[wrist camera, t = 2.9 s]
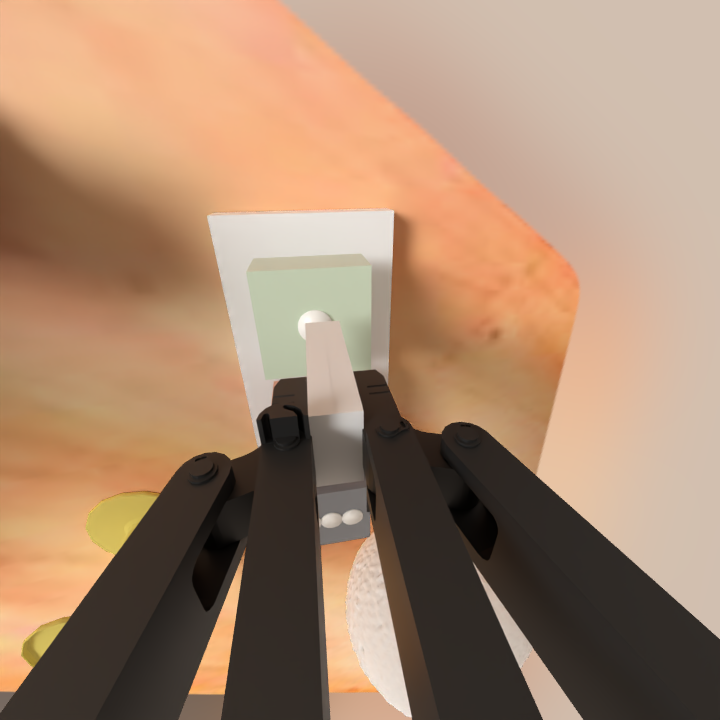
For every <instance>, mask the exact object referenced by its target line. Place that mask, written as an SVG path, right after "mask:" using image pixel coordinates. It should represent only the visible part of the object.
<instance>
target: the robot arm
mask: <svg viewBox="0 0 720 720" xmlns="http://www.w3.org/2000/svg"><path fill="white" fill-rule="evenodd" d="M305 332H306V365H307V377H297V378H286V379H280V380H279V382H278V383H277V384H276V385H275V387H274V390H273V398H272V405H271V406H269V407H267V408H265V409H264V410H263V411H262V412H261V413H260V414H259V415H258V417H257V419H256V422H257V427H258V432H259V437H260V441H261V446H260V447H259V448H257V449H256V450H254V451H253V452H251V453H249V454H247V455H245V456H242V457H239V458H236V459H234V460H231V461H230V459H229V458H228V457H227V456H226V455H225V454H221V453H217V452H212V453H204V454H201V455H198V456H195V457H193V458H192V459H190V460H188V461H187V462H185V463H184V464H183V465H182V466H181V467H180V468H179V469H178V470H177V471H176V473H175V474H174V475H173V477H172V478H171V480H170V481H169V482H168V484H167V485H166V486H165V488H164V489H163V491H162V492H161V493H160V495H159V496H158V497H157V499H156V500H155V502H154V503H153V504H152V506H151V507H150V508H149V510H148V511H147V513H146V514H145V515H144V517H143V518H142V519H141V521H140V522H139V523H138V525H137V526H136V528H135V529H134V530H133V532H132V533H131V534H130V536H129V537H128V539H127V540H126V541H125V543H124V544H123V545H122V547H121V548H120V550H119V551H118V552H117V554H116V555H115V556H114V558H113V559H112V561H111V562H110V563H109V565H108V566H107V567H106V569H105V570H104V572H103V573H102V574H101V576H100V577H99V578H98V580H97V581H96V583H95V584H94V585H93V587H92V588H91V589H90V591H89V592H88V594H87V595H86V596H85V598H84V599H83V600H82V602H81V603H80V605H79V606H78V607H77V609H76V610H75V611H74V613H73V614H72V615H71V617H70V618H69V620H68V621H67V622H66V624H65V625H64V626H63V628H62V629H61V631H60V632H59V633H58V635H57V636H56V637H55V639H54V640H53V642H52V643H51V644H50V646H49V647H48V648H47V650H46V651H45V653H44V654H43V655H42V657H41V658H40V659H39V661H38V662H37V664H36V665H35V666H34V668H33V669H32V670H31V672H30V673H29V675H28V676H27V677H26V679H25V680H24V681H23V683H22V684H21V686H20V687H19V688H18V690H17V691H16V692H15V694H14V695H13V697H12V698H11V699H10V701H9V702H8V703H7V705H6V706H5V708H4V709H3V710H2V712H1V713H0V720H178V719H179V716H180V713H181V711H182V708H183V706H184V703H185V701H186V698H187V695H188V693H189V690H190V688H191V685H192V683H193V680H194V678H195V675H196V673H197V670H198V667H199V665H200V662H201V660H202V657H203V655H204V652H205V650H206V647H207V645H208V642H209V639H210V637H211V634H212V632H213V629H214V627H215V624H216V622H217V619H218V616H219V614H220V611H221V609H222V606H223V604H224V601H225V599H226V596H227V593H228V591H229V588H230V586H231V583H232V581H233V578H234V576H235V573H236V570H237V568H238V565H239V563H240V560H241V558H242V555H243V553H244V550H245V547H246V552H245V559H244V566H243V573H242V579H241V586H240V593H239V600H238V607H237V614H236V621H235V628H234V634H233V641H232V648H231V655H230V662H229V669H228V676H227V682H226V689H225V696H224V703H223V710H222V717H221V720H330V705H329V687H328V670H327V652H326V634H325V617H324V599H323V581H322V564H321V546H320V528H319V510H318V498H317V487H321V486H328V485H335V484H343V483H350V482H357V481H364V474H365V478H366V483H367V512H370V515H371V520H372V525H373V529H374V534H375V539H376V544H377V549H378V554H379V559H380V564H381V569H382V574H383V578H384V583H385V588H386V593H387V598H388V603H389V608H390V613H391V618H392V622H393V627H394V632H395V637H396V642H397V647H398V652H399V657H400V662H401V667H402V671H403V676H404V681H405V686H406V691H407V696H408V701H409V706H410V711H411V715H412V720H543V719H542V717H541V714H540V712H539V710H538V708H537V706H536V703H535V701H534V699H533V697H532V694H531V692H530V690H529V688H528V685H527V683H526V681H525V678H524V676H523V674H522V672H521V669H520V667H519V665H518V663H517V661H516V658H515V656H514V654H513V652H512V649H511V647H510V645H509V643H508V640H507V638H506V636H505V634H504V631H503V629H502V627H501V625H500V622H499V620H498V618H497V616H496V613H495V611H494V609H493V607H492V604H491V602H490V600H489V598H488V595H487V593H486V591H485V589H484V586H483V584H482V582H481V580H480V578H479V575H478V573H477V571H476V569H475V566H476V567H477V569H478V570H479V572H480V573H481V574H482V576H483V577H484V579H485V580H486V582H487V583H488V584H489V586H490V587H491V589H492V590H493V592H494V593H495V594H496V596H497V597H498V599H499V600H500V602H501V603H502V604H503V606H504V607H505V609H506V610H507V611H508V613H509V614H510V616H511V617H512V619H513V620H514V621H515V623H516V624H517V626H518V627H519V629H520V630H521V631H522V633H523V634H524V636H525V637H526V639H527V640H528V641H529V643H530V644H531V646H532V647H533V648H534V650H535V651H536V653H537V654H538V656H539V657H540V658H541V660H542V661H543V663H544V664H545V665H546V667H547V668H548V670H549V671H550V673H551V674H552V675H553V677H554V678H555V680H556V681H557V683H558V684H559V685H560V687H561V688H562V690H563V691H564V693H565V694H566V695H567V697H568V698H569V700H570V701H571V702H572V704H573V705H574V707H575V708H576V710H577V711H578V713H579V714H580V715H581V717H582V718H583V720H720V639H719V638H718V637H717V636H715V635H714V634H713V633H712V632H711V631H710V630H708V628H707V627H705V626H704V625H703V624H702V623H701V622H700V621H699V620H698V619H696V618H695V617H694V616H693V615H692V614H691V613H690V612H689V611H687V610H686V609H685V608H684V607H683V606H682V605H681V604H680V603H678V602H677V601H676V600H675V599H674V598H673V597H672V596H671V595H669V594H668V593H667V592H666V591H665V590H664V589H663V588H662V587H660V586H659V585H658V584H657V583H656V582H655V581H654V580H653V579H652V578H650V577H649V576H648V575H647V574H646V573H644V571H642V570H641V569H640V568H639V567H638V566H637V565H636V564H635V563H633V562H632V561H631V560H630V559H629V558H628V557H627V556H626V555H625V554H623V553H622V552H621V551H620V550H619V549H618V548H617V547H615V546H614V545H613V544H612V543H611V542H610V541H609V540H608V539H606V537H604V536H603V535H602V534H601V533H600V532H599V531H598V530H597V529H595V528H594V527H593V526H592V525H591V524H590V523H589V522H588V521H586V520H585V519H584V518H583V517H582V516H581V515H580V514H578V513H577V512H576V511H575V510H574V509H573V508H572V507H571V506H570V505H568V504H567V503H566V502H565V501H564V500H563V499H562V498H560V497H559V496H558V495H557V494H556V493H555V492H554V491H553V490H552V489H550V488H549V487H548V486H547V485H546V484H545V483H544V482H542V481H541V480H540V479H539V478H538V477H537V476H536V475H535V474H534V473H533V472H531V471H530V470H529V469H528V468H527V467H526V466H525V465H524V464H522V463H521V462H520V461H519V460H518V459H517V458H516V457H515V456H513V455H512V454H511V453H510V452H509V451H508V450H507V449H506V448H504V447H503V446H502V445H501V444H500V443H499V442H498V441H497V440H496V439H494V438H493V437H492V436H491V435H490V434H489V433H488V432H487V431H485V430H484V429H482V428H481V427H479V426H477V425H474V424H471V423H465V422H457V423H451V424H450V425H448V426H446V427H445V428H444V430H443V431H442V434H435V433H427V432H422V431H418V430H416V429H413V427H412V426H411V424H410V423H409V422H408V421H407V420H405V419H404V418H402V417H401V416H400V413H399V411H398V409H397V406H396V404H395V402H394V399H393V397H392V394H391V393H390V390H389V387H388V386H387V383H386V380H385V378H384V376H383V375H382V374H381V373H379V372H378V371H377V370H376V369H374V370H363V371H353V370H352V366H351V362H350V359H349V355H348V351H347V348H346V344H345V340H344V337H343V333H342V329H341V326H340V322H339V321H326V322H312V323H305ZM473 563H474V564H475V566H474V564H473Z"/></svg>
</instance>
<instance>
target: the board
mask: <svg viewBox="0 0 720 720" xmlns="http://www.w3.org/2000/svg"><path fill="white" fill-rule="evenodd" d="M207 218H208V223H209V228H210V232H211V237H212V241H213V246H214V250H215V255H216V259H217V264H218V268H219V273H220V278H221V282H222V287H223V291H224V296H225V300H226V305H227V309H228V314H229V318H230V323H231V328H232V332H233V337H234V341H235V346H236V350H237V355H238V359H239V364H240V368H241V373H242V378H243V382H244V387H245V391H246V396H247V400H248V405H249V409H250V414H251V418H252V423H253V428H254V432H255V437H256V441H257V446H258V448H259V447H260V446H261V441H260V437H259V432H258V427H257V422H256V419H257V417H258V415H259V414H260V413H261V412H262V411H263V410H264V409H265V408H267V407H269V406H271V401H272V392H273V383H274V381H279V380H280V379H286V378H280V379H270V380H265V374H264V369H263V363H262V358H261V352H260V347H259V341H258V336H257V330H256V324H255V319H254V313H253V308H252V302H251V297H250V291H249V286H248V280H247V275H246V271H247V269H248V267H249V265H250V264H251V262H252V260H253V258H274V257H295V256H317V255H338V254H360V253H361V254H362V255H363V256H364V257H365V258H366V260H367V261H368V262H369V263H370V264H371V265H372V277H371V370H374V369H376V370H377V371H378V372H379V373H381V374H382V375H383V376H384V378H385V380H386V383H387V386H388V369H389V341H390V313H391V285H392V257H393V229H394V210H391V209H388V208H368V209H330V210H293V211H256V212H219V213H212V214H210V215H208V216H207ZM362 371H363V370H362ZM301 377H307V376H301ZM290 378H297V377H290Z"/></svg>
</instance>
